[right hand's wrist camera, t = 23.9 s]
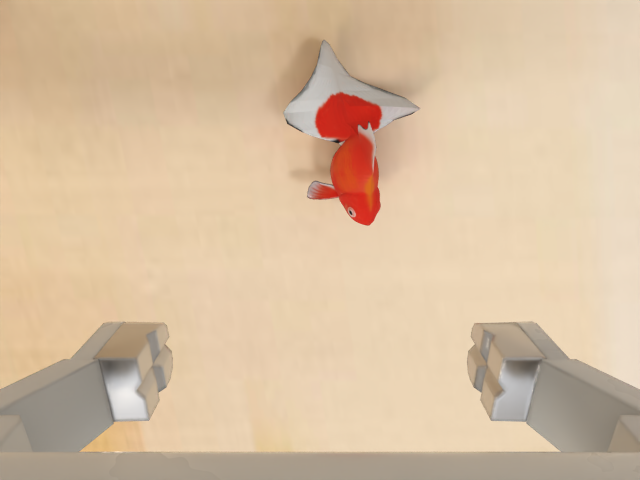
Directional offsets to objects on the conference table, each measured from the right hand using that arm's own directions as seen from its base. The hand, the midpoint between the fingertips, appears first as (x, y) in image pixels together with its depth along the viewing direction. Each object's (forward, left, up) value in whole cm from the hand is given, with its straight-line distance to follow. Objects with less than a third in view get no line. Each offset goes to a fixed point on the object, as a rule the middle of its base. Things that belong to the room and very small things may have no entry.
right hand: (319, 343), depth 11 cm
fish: (+3, +1, -31) cm, 31 cm away
